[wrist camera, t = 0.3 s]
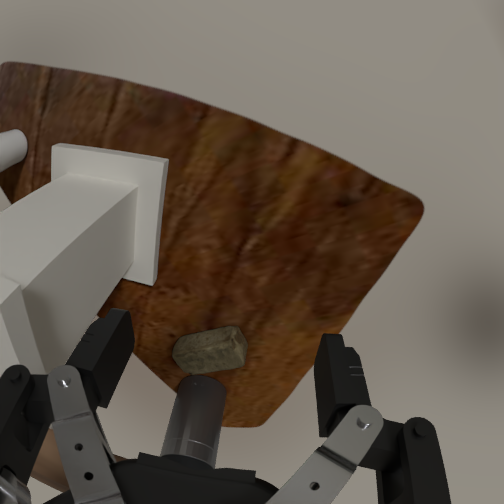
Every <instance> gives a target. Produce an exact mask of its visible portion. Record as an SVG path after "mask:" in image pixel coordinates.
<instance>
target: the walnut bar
mask: <svg viewBox="0 0 504 504" xmlns="http://www.w3.org/2000/svg"><path fill="white" fill-rule="evenodd" d="M113 455H114V454H113ZM114 457H115V460H116V462H119V461H122V460H127V459H126V458H123V457H120V456H117V455H114ZM30 476H31V477H33V478H35V479H37V480H38V481H40V482H42V483H44V484H46V485H48V486H50V487H53V488H55V489H57V490H59V491H61V492H65V491H67V490H69V489H70V487H69V484H68V481H67V478H66V475H65V472H64V468H63V465H62V462H61V458H60V455H59V451H58V447H57V444H56V440H55V436H54V432H53V430H52V429H50V428H49V430H48V432H47V434H46V437H45V439H44V441H43V444H42V446H41V449H40V451H39V454H38V456H37V459H36V462H35V464H34V467H33V469H32V472H31V475H30Z"/></svg>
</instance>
